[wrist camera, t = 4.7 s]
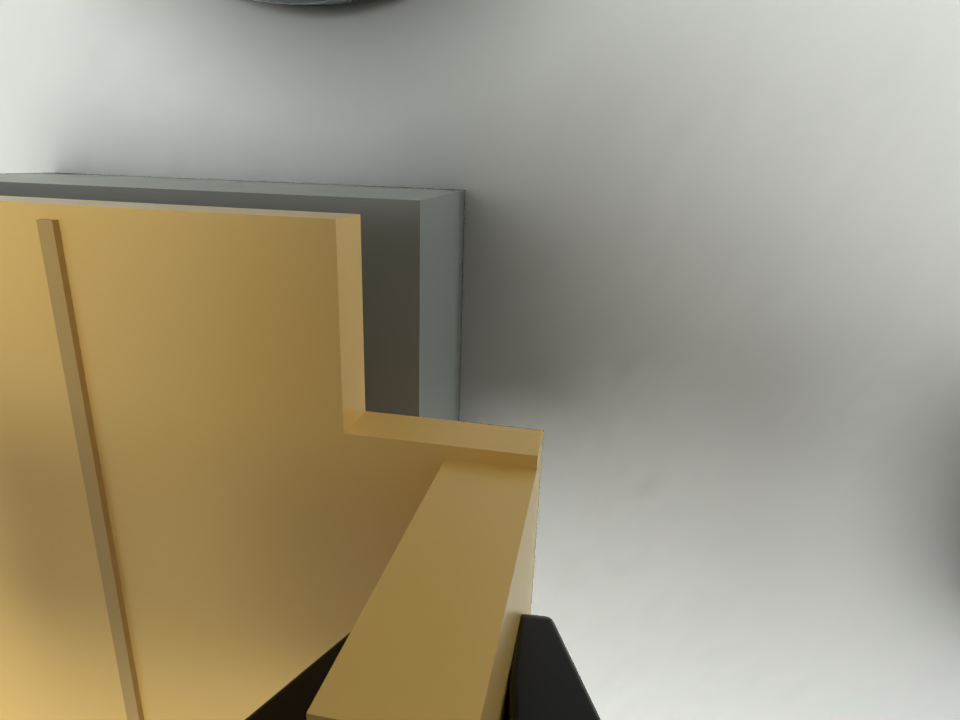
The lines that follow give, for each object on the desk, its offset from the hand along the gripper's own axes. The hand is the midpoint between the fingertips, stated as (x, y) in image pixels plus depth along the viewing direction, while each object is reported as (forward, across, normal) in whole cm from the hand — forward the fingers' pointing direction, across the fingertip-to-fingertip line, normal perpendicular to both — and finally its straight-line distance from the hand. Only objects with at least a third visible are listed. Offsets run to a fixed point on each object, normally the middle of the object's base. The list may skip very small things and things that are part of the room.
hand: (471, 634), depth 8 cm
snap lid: (+3, +7, 0) cm, 7 cm away
